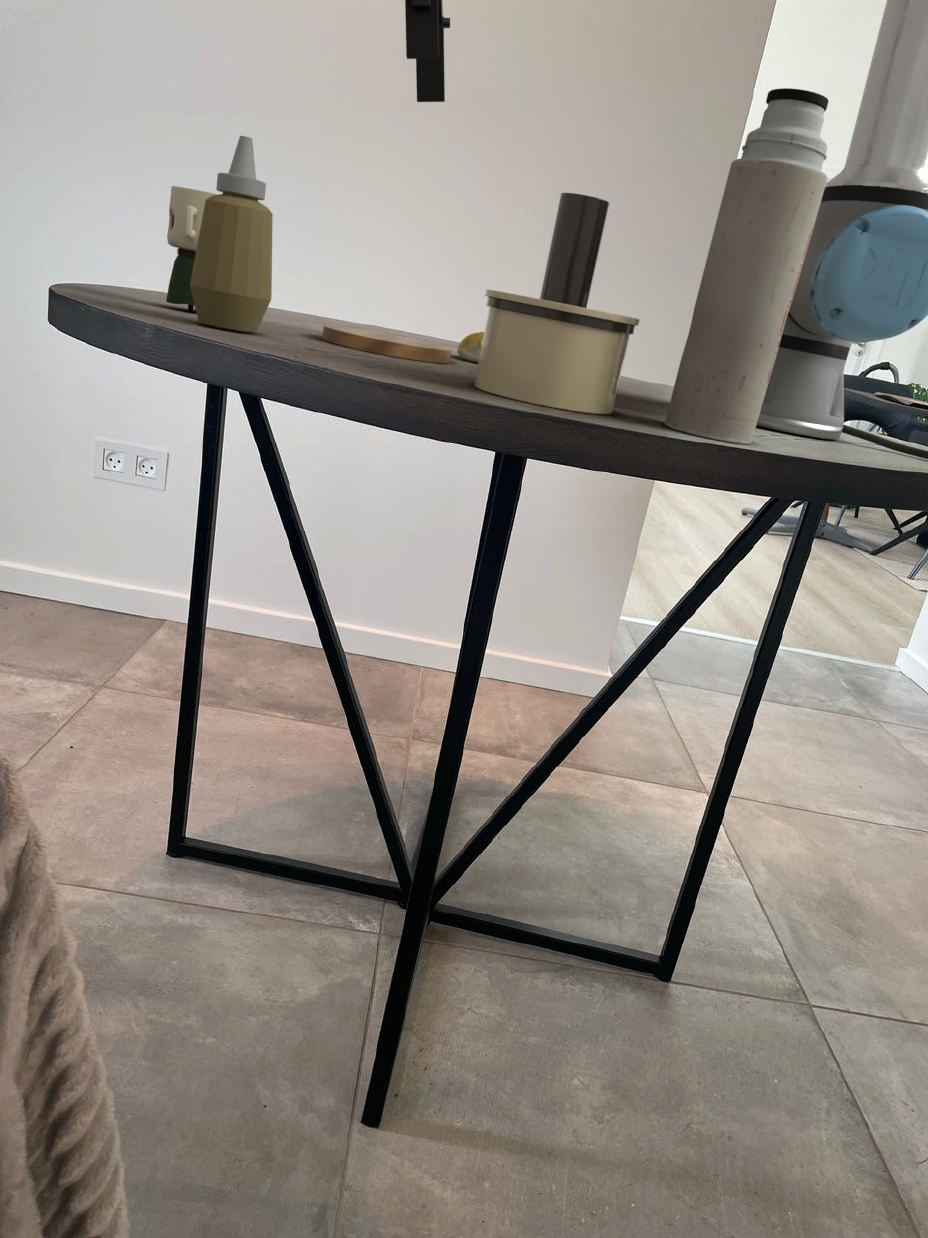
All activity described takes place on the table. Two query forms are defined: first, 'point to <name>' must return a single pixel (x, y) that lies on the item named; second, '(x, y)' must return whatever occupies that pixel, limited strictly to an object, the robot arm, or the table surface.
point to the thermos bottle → (752, 270)
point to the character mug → (184, 240)
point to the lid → (572, 259)
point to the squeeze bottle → (234, 249)
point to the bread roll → (471, 347)
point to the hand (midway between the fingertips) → (427, 81)
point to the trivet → (386, 344)
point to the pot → (552, 357)
